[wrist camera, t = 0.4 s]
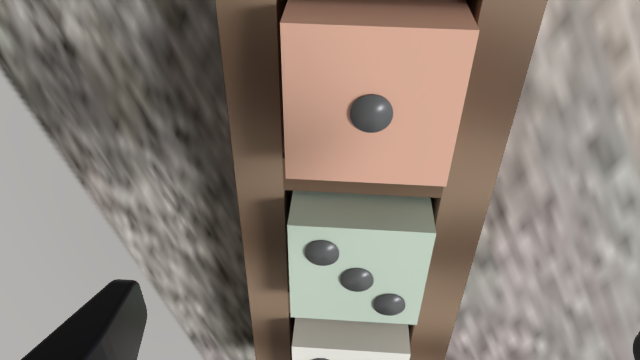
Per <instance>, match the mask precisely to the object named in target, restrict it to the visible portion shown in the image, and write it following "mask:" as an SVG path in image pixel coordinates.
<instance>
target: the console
mask: <svg viewBox="0 0 640 360" xmlns="http://www.w3.org/2000/svg"><path fill="white" fill-rule="evenodd" d="M287 1H288V0H215V2H216V11H217V20H218V29H219V38H220V47H221V55H222V64H223V73H224V82H225V91H226V100H227V109H228V117H229V126H230V135H231V144H232V153H233V162H234V170H235V179H236V188H237V197H238V206H239V215H240V224H241V232H242V241H243V250H244V259H245V268H246V277H247V286H248V294H249V303H250V312H251V321H252V330H253V339H254V347H255V356H256V360H292V340H293V332H294V324H295V317H291V314H290V286H289V258H288V231H287V224H288V218H289V212H290V206H291V200H292V194H293V190H294V191H314V192H334V193H353V194H373V195H393V196H412V197H430V198H431V204H432V210H433V216H434V222H435V228H436V237H435V242H434V247H433V252H432V256H431V261H430V266H429V270H428V275H427V280H426V284H425V289H424V294H423V299H422V303H421V308H420V313H419V317H418V322H417V325H410V324H408V329H409V341H410V352H411V355H410V360H444V359H445V356H446V352H447V349H448V345H449V342H450V338H451V335H452V331H453V328H454V324H455V321H456V318H457V314H458V311H459V307H460V304H461V300H462V297H463V293H464V290H465V286H466V283H467V279H468V276H469V272H470V269H471V265H472V262H473V258H474V255H475V251H476V248H477V244H478V241H479V237H480V234H481V230H482V227H483V223H484V220H485V216H486V213H487V210H488V206H489V203H490V199H491V196H492V192H493V189H494V185H495V182H496V178H497V175H498V171H499V168H500V164H501V161H502V157H503V154H504V150H505V147H506V143H507V140H508V136H509V133H510V129H511V126H512V122H513V119H514V115H515V112H516V109H517V105H518V102H519V98H520V95H521V91H522V88H523V84H524V81H525V77H526V74H527V70H528V67H529V63H530V60H531V56H532V53H533V49H534V46H535V42H536V39H537V35H538V32H539V28H540V25H541V21H542V18H543V14H544V11H545V8H546V4H547V1H548V0H466V2H467V5H468V7H469V9H470V11H471V13H472V15H473V17H474V19H475V22H476V24H477V26H478V28H479V30H480V31H479V36H478V40H477V45H476V50H475V54H474V59H473V64H472V68H471V73H470V78H469V83H468V87H467V92H466V97H465V101H464V106H463V111H462V115H461V120H460V125H459V130H458V134H457V139H456V144H455V148H454V153H453V158H452V162H451V167H450V172H449V176H448V181H447V186H446V187H444V186H424V185H404V184H384V183H364V182H344V181H324V180H304V179H286V175H285V147H284V119H283V92H282V64H281V36H280V21H281V18H282V16H283V13H284V10H285V7H286V4H287Z"/></svg>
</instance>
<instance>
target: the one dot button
mask: <svg viewBox="0 0 640 360" xmlns="http://www.w3.org/2000/svg"><path fill="white" fill-rule="evenodd" d="M479 31H480V30H479V28H478V26H477V24H476V22H475V19H474V17H473V15H472V13H471V11H470V9H469V7H468V5H467V2H466V0H288V1H287V4H286V7H285V10H284V13H283V16H282V18H281V21H280V36H281V64H282V92H283V119H284V147H285V175H286V179H304V180H324V181H344V182H364V183H384V184H404V185H424V186H444V187H446V186H447V181H448V176H449V172H450V167H451V162H452V158H453V153H454V148H455V144H456V139H457V134H458V130H459V125H460V120H461V115H462V111H463V106H464V101H465V97H466V92H467V87H468V83H469V78H470V73H471V68H472V64H473V59H474V54H475V50H476V45H477V40H478V36H479Z"/></svg>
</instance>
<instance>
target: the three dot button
mask: <svg viewBox="0 0 640 360" xmlns="http://www.w3.org/2000/svg"><path fill="white" fill-rule="evenodd" d="M287 231H288V258H289V286H290V314H291V317H296V318H312V319H329V320H345V321H361V322H377V323H394V324H410V325H417V322H418V317H419V313H420V308H421V303H422V299H423V294H424V289H425V284H426V280H427V275H428V270H429V266H430V261H431V256H432V252H433V247H434V242H435V237H436V228H435V222H434V216H433V210H432V204H431V198H430V197H412V196H393V195H373V194H353V193H334V192H314V191H294V190H293V194H292V200H291V206H290V212H289V218H288V224H287Z"/></svg>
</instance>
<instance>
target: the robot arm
mask: <svg viewBox="0 0 640 360" xmlns="http://www.w3.org/2000/svg"><path fill="white" fill-rule="evenodd" d="M146 320H147V310H146V305H145V302H144V299H143V295H142V292H141V289H140V286H139V284H138V282H136V281H134V280H120V279H118V280H114V281H112V282H110V283H109V284H108V285H107V286H105V288H103V289H102V290H101V291H100V292H99V293H97V294H96V295H95V296H94V297H93V298H92V299H91V300H89V301H88V302H87V303H86V304H85V305H83V307H81V308H80V309H79V310H78V311H77V312H75V313H74V314H73V315H72V316H71V317H70V318H68V319H67V320H66V321H65V322H64V323H63V324H62V325H60V326H59V327H58V328H57V329H56V330H55V331H54V332H52V333H51V334H50V335H49V336H48V337H47V338H45V339H44V340H43V341H42V342H41V343H40V344H38V345H37V346H36V347H35V348H34V349H33V350H32V351H30V352H29V353H28V354H27V355H26V356H25V357H23V358H22V359H21V360H137V356H138V352H139V348H140V344H141V341H142V337H143V332H144V329H145V325H146ZM633 354H634V358H635V360H640V332H639V333H638V335H637V336H636V338H635V340H634V343H633Z"/></svg>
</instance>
